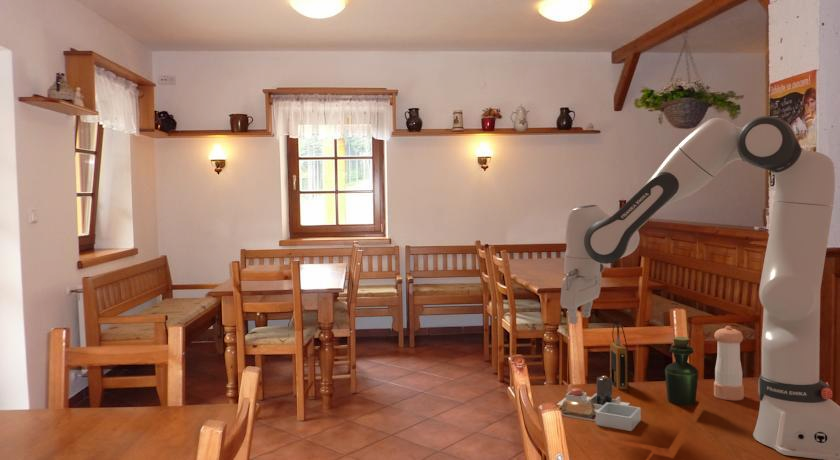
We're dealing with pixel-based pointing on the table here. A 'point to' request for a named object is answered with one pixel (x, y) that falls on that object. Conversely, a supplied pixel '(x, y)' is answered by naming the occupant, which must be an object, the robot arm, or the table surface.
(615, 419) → the grey square open box
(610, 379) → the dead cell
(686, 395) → the potion bottle
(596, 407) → the battery tester
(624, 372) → the multimeter
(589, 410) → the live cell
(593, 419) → the trough
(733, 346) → the pepper shaker
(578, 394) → the button
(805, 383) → the robot arm
